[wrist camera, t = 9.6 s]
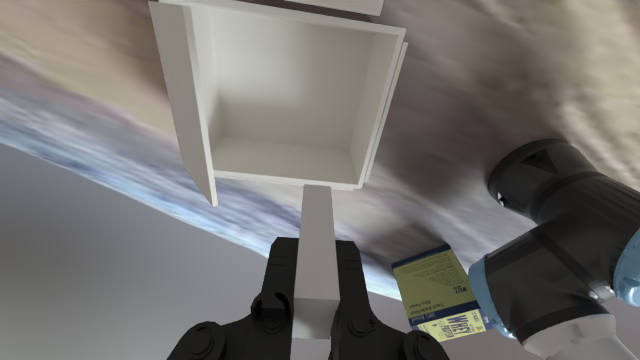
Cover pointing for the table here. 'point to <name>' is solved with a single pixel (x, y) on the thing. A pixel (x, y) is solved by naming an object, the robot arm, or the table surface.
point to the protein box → (439, 295)
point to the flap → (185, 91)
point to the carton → (293, 91)
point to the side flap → (349, 5)
